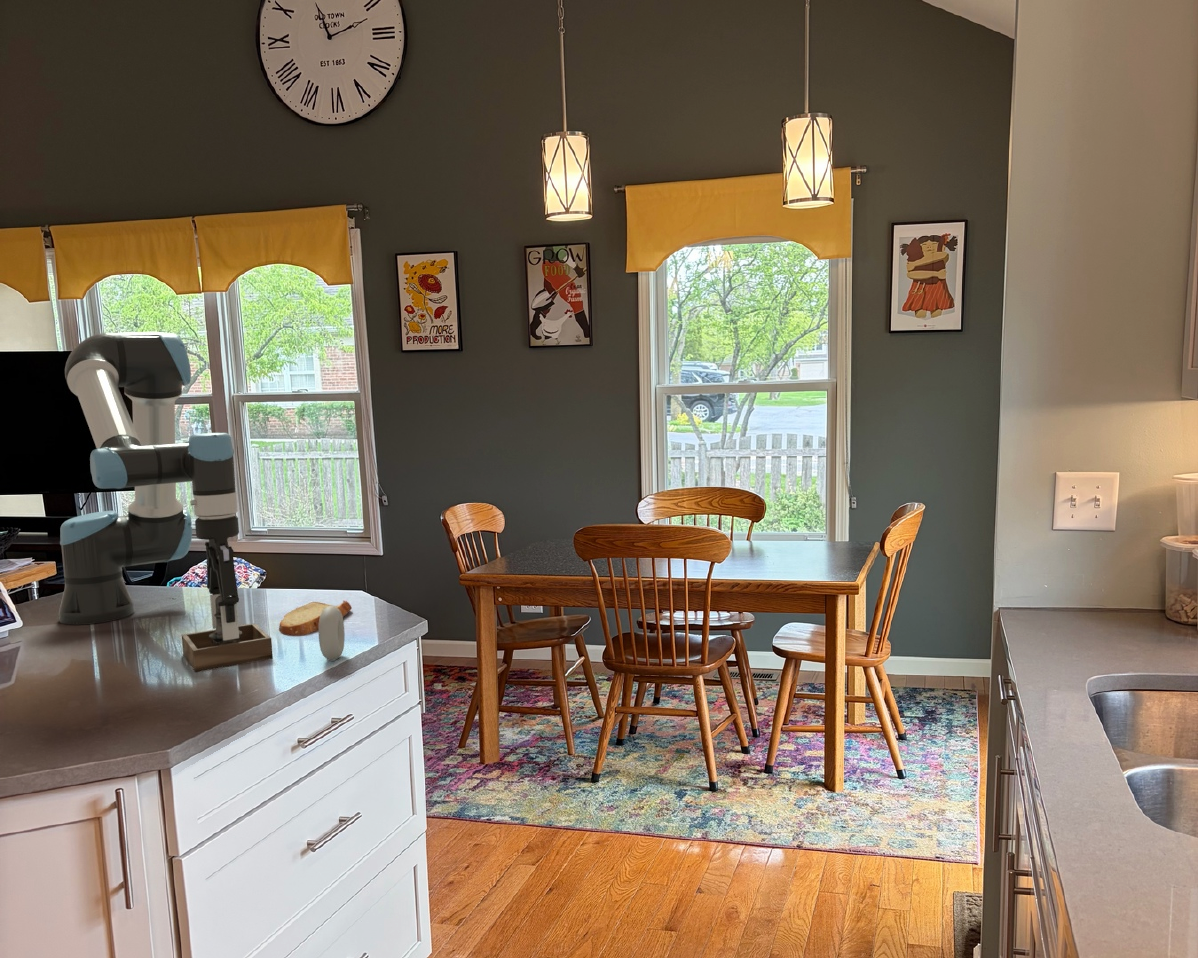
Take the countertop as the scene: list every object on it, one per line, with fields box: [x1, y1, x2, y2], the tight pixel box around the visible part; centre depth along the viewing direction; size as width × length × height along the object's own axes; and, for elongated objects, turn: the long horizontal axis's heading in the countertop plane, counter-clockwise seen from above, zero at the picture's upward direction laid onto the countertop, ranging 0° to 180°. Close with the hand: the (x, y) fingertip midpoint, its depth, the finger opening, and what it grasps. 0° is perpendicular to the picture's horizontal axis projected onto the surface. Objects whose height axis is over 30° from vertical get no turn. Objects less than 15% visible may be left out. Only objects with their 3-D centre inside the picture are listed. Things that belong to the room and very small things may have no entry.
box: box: [181, 622, 274, 673], centre depth 183 cm, size 14×14×4 cm
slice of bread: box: [278, 600, 353, 637], centre depth 208 cm, size 18×18×4 cm
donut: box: [318, 605, 346, 662], centre depth 179 cm, size 10×4×10 cm, turn 5°
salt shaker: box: [209, 596, 242, 646], centre depth 183 cm, size 6×6×12 cm
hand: (225, 632), depth 183 cm, fingers open, 10 cm apart
